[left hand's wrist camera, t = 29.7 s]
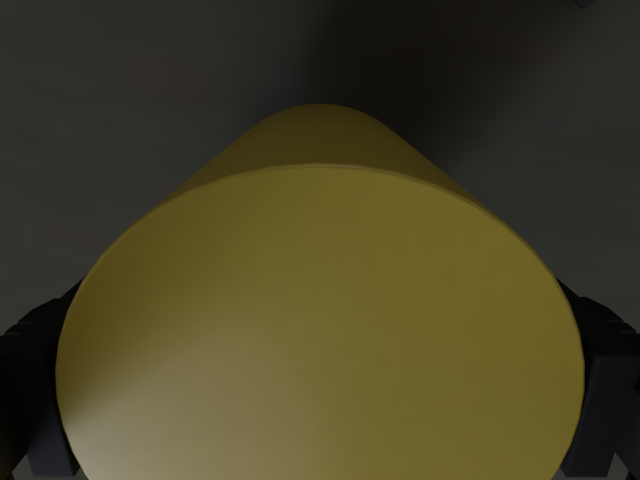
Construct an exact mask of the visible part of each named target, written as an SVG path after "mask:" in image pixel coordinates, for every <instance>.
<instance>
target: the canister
mask: <svg viewBox="0 0 640 480" xmlns="http://www.w3.org/2000/svg"><path fill="white" fill-rule="evenodd" d="M55 377H56V398H57V403H58V408H59V412H60V417H61V422H62V426H63V429H64V431H65V434H66V436H67V439H68V442H69V444H70V447H71V449H72V452H73V453H74V455H75V457H76V459H77V461H78V462H79V464H80V466H81V468H82V470H83V471H84V473H85V475H86V476H87V477H88V479H89V480H551V479H552V477H553V476H554V475H555V473H556V472H557V470H558V469H559V467H560V465H561V463H562V461H563V459H564V457H565V455H566V453H567V451H568V449H569V448H570V446H571V443H572V440H573V437H574V434H575V431H576V428H577V426H578V423H579V420H580V415H581V409H582V403H583V397H584V391H585V362H584V356H583V350H582V344H581V338H580V332H579V329H578V326H577V323H576V320H575V317H574V315H573V312H572V309H571V306H570V303H569V301H568V299H567V297H566V296H565V294H564V292H563V290H562V288H561V287H560V285H559V283H558V281H557V279H556V278H555V276H554V274H553V273H552V271H551V270H550V269H549V268H548V266H547V265H546V264H545V263H544V261H543V260H542V259H541V258H540V256H539V255H538V254H537V252H536V251H535V250H534V249H533V247H532V246H530V245H529V244H528V243H527V242H526V241H525V240H524V239H523V238H522V237H521V236H520V235H518V234H517V233H516V232H515V231H514V230H513V229H512V228H511V227H510V226H509V225H508V224H507V223H505V222H504V221H503V220H502V219H500V218H499V217H498V216H497V215H496V214H494V213H493V212H492V211H491V210H489V209H488V208H487V207H486V206H484V205H483V204H482V203H481V202H480V201H478V200H477V199H476V198H475V197H473V196H472V195H471V194H470V193H468V192H467V191H466V190H465V189H464V188H462V187H461V186H460V185H459V184H457V183H456V182H455V181H454V180H452V179H451V178H450V177H449V176H447V175H446V174H445V173H444V172H443V171H441V170H440V169H439V168H438V167H436V166H435V165H434V164H433V163H431V162H430V161H429V160H428V159H427V158H425V157H424V156H423V155H422V154H420V153H419V152H418V151H417V150H415V149H414V148H413V147H412V146H411V145H409V144H408V143H407V142H406V141H404V140H403V139H402V138H401V137H399V136H398V135H397V134H396V133H395V132H393V131H392V130H391V129H390V128H388V127H387V126H386V125H384V124H383V123H381V122H380V121H378V120H377V119H375V118H373V117H371V116H369V115H367V114H365V113H363V112H361V111H358V110H355V109H352V108H349V107H345V106H340V105H334V104H307V105H300V106H296V107H291V108H287V109H285V110H282V111H279V112H277V113H274V114H272V115H271V116H269V117H267V118H265V119H263V120H261V121H260V122H259V123H257V124H256V125H255V126H253V127H252V128H251V129H249V130H248V131H247V132H246V133H244V134H243V135H242V136H241V137H240V138H238V139H237V140H236V141H235V142H233V143H232V144H231V145H230V146H228V147H227V148H226V149H225V150H224V151H222V152H221V153H220V154H219V155H217V156H216V157H215V158H214V159H212V160H211V161H210V162H209V163H208V164H206V165H205V166H204V167H203V168H201V169H200V170H199V171H198V172H196V173H195V174H194V175H193V176H192V177H190V178H189V179H188V180H187V181H185V182H184V183H183V184H182V185H181V186H179V187H178V188H177V189H176V190H174V191H173V192H172V193H171V194H169V195H168V196H167V197H166V198H165V199H163V200H162V201H161V202H160V203H158V204H157V205H156V206H155V207H153V208H152V209H151V210H150V211H149V212H147V213H146V214H145V215H144V216H142V217H141V218H140V219H139V220H137V221H136V222H135V223H134V224H133V225H131V226H130V227H129V228H128V229H126V230H125V231H124V232H123V233H122V234H121V235H120V236H119V237H118V238H117V239H116V240H115V241H114V242H113V244H112V245H111V246H110V247H109V248H108V249H107V250H106V251H105V252H104V253H103V254H102V255H101V256H100V257H99V259H98V260H97V261H96V263H95V264H94V266H93V267H92V268H91V270H90V271H89V273H88V274H87V275H86V277H85V278H84V279H83V281H82V283H81V285H80V287H79V289H78V291H77V293H76V295H75V297H74V299H73V301H72V303H71V305H70V307H69V309H68V311H67V314H66V318H65V321H64V325H63V328H62V331H61V335H60V338H59V343H58V351H57V359H56V368H55Z"/></svg>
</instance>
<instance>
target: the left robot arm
mask: <svg viewBox="0 0 640 480" xmlns="http://www.w3.org/2000/svg"><path fill="white" fill-rule="evenodd" d="M573 1H574V2H575V3H576V4H577V5H578V6H579V7H580V8H581V9H583V8H585V7H587V6H588V5H590V4H591V3H592V2H593V1H594V0H573ZM85 277H86V276H85ZM85 277H84V278H85ZM84 278H83V279H84ZM555 278H556V277H555ZM83 279H82V280H81V281H79V282H78V283H77V284H76V285H75V286H74V287H72V288H71V289H70V290H69V291H68V292H67V293H66V294H64V295H63V296H62V297H61V298H60V299H52V300H50V301H48V302H46V303H44V304H42V305H40V306H38V307H36V308H34V309H32V310H31V311H30V312H29V313H28V314H26V315H25V316H24V317H23V318H22V319H20V320H19V321H18V322H17V325H13V326H12V327H11V328H9V329H8V330H7V331H6V332H5V334H4V335H1V336H0V480H14V477H13V474H12V471H13V470H14V469H15V467H16V466H17V465H18V463H19V462H20V461H21V460H22V458H23V457H24V456H25V454H27V458H28V461H29V464H30V467H31V470H32V473H33V476H34V477H74V476H75V475H76V473H77V472H78V470H79V468H80V467H81V466H80V464H79V462H78V461H77V459H76V457H75V455H74V453H73V452H72V449H71V447H70V444H69V442H68V439H67V436H66V434H65V431H64V429H63V426H62V422H61V417H60V412H59V408H58V403H57V398H56V377H55V368H56V359H57V351H58V343H59V338H60V335H61V331H62V328H63V325H64V321H65V318H66V314H67V311H68V309H69V307H70V305H71V303H72V301H73V299H74V297H75V295H76V293H77V291H78V289H79V287H80V285H81V283H82V281H83ZM556 279H557V278H556ZM557 281H558V283H559V285H560V287H561V288H562V290H563V292H564V294H565V296H566V297H567V299H568V301H569V303H570V306H571V309H572V312H573V315H574V317H575V320H576V323H577V326H578V329H579V332H580V338H581V344H582V350H583V356H584V362H585V391H584V397H583V403H582V409H581V415H580V420H579V423H578V426H577V428H576V431H575V434H574V437H573V440H572V443H571V446H570V448H569V449H568V451H567V453H566V455H565V457H564V459H563V461H562V463H561V465H560V468H561V469H562V471H563V473H564V474H565V476H566V477H607V474H608V471H609V468H610V465H611V462H612V459H613V456H614V453H616V454H617V455H618V457H619V458H620V459H621V461H622V462H623V463H624V465H625V466H626V467H627V468H628V470H629V471H628V474H627V477H626V480H640V334H637V333H636V330H635V329H633V328H632V327H631V326H630V325H628V324H627V323H624V322H623V320H622V319H621V318H620V317H619V316H617V315H616V314H615V313H614V312H613V311H611V310H610V309H609V308H607V307H605V306H603V305H601V304H599V303H597V302H595V301H593V300H591V299H589V298H587V297H578V296H577V295H576V294H575V293H574V292H572V291H571V290H570V289H569V288H568V287H567V286H566V285H564V284H563V283H562V282H561V281H560V280H559V279H557Z"/></svg>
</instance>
